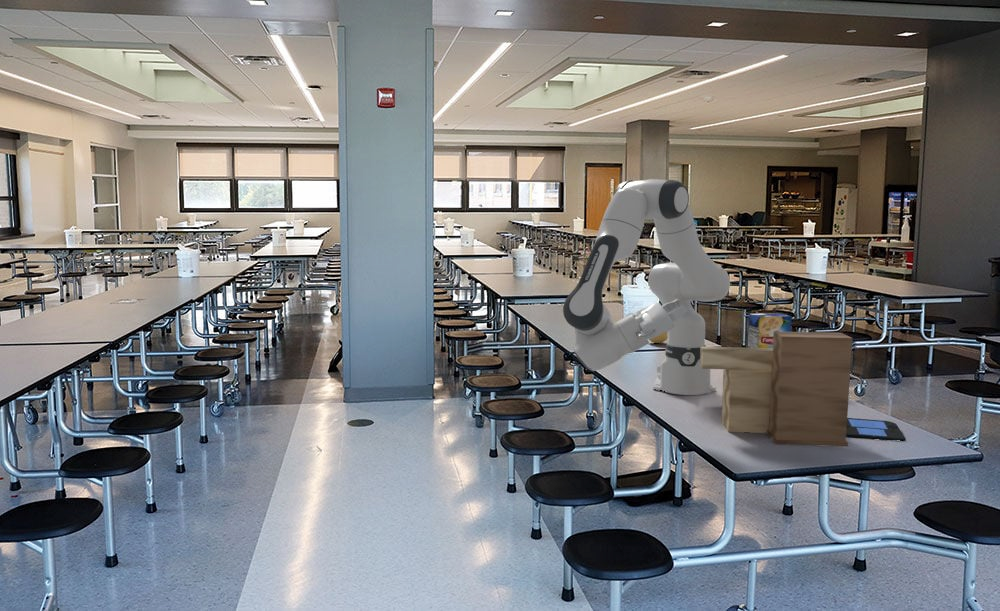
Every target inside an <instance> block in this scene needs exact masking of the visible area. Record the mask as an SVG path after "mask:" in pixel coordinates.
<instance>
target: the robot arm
mask: <svg viewBox="0 0 1000 611" xmlns="http://www.w3.org/2000/svg"><path fill="white" fill-rule="evenodd" d="M689 202H690V195H689V191H688V189H687V187H686V185H685V184H684V183H683V182H681V181H679V180H674V179H668V180H667V179H658V178H657V179H656V178H649V179H648V178H647V179H641V180H639V179H638V180H626V181H623V182H621V183H619V184H618V185H617V187H616V188H615V190H614V192H613V194H612V198H610V201H609V203H608V205H607V207H606V209H605V211H604V214H603V217H602V220H601V222H600V225H599V228H598V232H597V234H596V238H595V242H594V244H593V247H592V249H591V252H590V254H589V256H588V259H587V260H586V264H585V266H584V269H583V271H582V273H581V276H580V278H579V281H578V283H577V284H576V286H575V287H574V289H572V291H571V292H570V293H569V294H568V295H567V297H566V298H565V301H564V303H563V306H562V313H563V316H564V319H565V321H566V322H567V324H569V326H571V327H573V328H574V331H575V332H574V333H575V344H574V349H573V353H574V355H575V356H576V358H577V359H578V360H579V362H580V363H581V364H582V366H584V367H585V368H586V369H587V370H589V371H592V372H595V371H599V370H601V369H604V368H607V367H609V366H610V365H612V364H615V363H616V362H618V361H619V360H621V359H622V358H623V357H624V356H626V355H628V354H632V353H634V352H636V351H639V350H640V349H642V348H643V347H646V346H647V345H649V344H650V342H649V341H650V340H649V339H653V338H655V337H657V336H659V335H661V334H663V333H665V332H667V331H668V339H667V343H666V344H665V349H664V351H665V352H664V354H665V357H664V360H662V362H660V364H659V365H657V366H656V367H657V369H656V372H657V374H658V375H657V377H656V379H655V381H654V384H653V387H652V389H653V390H654V389H656V390H655V391H660V390H662V391H661V392H664V391H665V393H668V394H673V395H681V396H683V395H684V396H698V395H699V396H700V395H704V394H708V393H711V392H712V393H713V392H716V389H717V388H716V387H715V386H714V385H712V384H711V369H702V368H701V367H700V349H701V347H707V346H706V345H705V342H706V320H705V319H704V317H703V316H702V315H701V314H700V313H699V312H697V311H696V310H695V309H694V307H693V306H692V303H691V301H696V302H706V303H708V302H715V301H716V302H717V301H722V300H723V299H724V298H725V297H726V296H727V295H728V293H729V290H730V287H731V280H730V279H731V278H730V276H729V274H728V272H727V270H726V269H724V268H723V267H721V266H720V265H718V264H717V263H716V262H715V261H714V260H712V259H711V258H710V257H709V255H708V253H707V252H706V251H705V250H704V248H703V246H702V245H701V242H700V239H699V236H698V232H697V228H696V224H695V220H694V216H693V213H692V209H691V206H690V204H689ZM646 220H653V222H654V227H655V230H656V231H655V232H656V236H657V239H658V243H659V248H660V252H661V253H662V254H663V256H664V257H666V258H667V259H668V260H670V261H671V262H665V263H658V264H655V265H654V266H653V267H652V269H651V270H650V272H649V274H648V279H647V280H648V286H649V288H650V290H651V292H652V293H653V294H654V295H655V296H656V297H657V299H659V302H656V303H653V304H651V305H647V306H645V307H643V308H642V309H640V310H637V311H636V312H635V313H633V312H629V313H628V314H626V315H625V316H624V317H623V318H622V319H619V320H617V321H616V322H614V323H613V321H612V317H611V316H612V315H611V313H610V311H609V309H608V308H607V307H606V305H605V304H604V301H603V290H604V288H605V285H606V283H607V280H608V278H609V275H610V273H611V271H612V267H613V266H614V264H615V263H616V262H617V261H623V260H626V259H628V258H630V257H631V256H632V255H633V253H634V252H635V250H636V248H637V246H638V244H639V241H640V237H641V236H642V232H643V229H644V224H645V221H646Z"/></svg>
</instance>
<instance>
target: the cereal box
mask: <svg viewBox="0 0 1000 611" xmlns="http://www.w3.org/2000/svg"><path fill="white" fill-rule="evenodd" d="M792 317H793V316H792V315H788V314H785V313H782V312H776V313H775V312H773V313H772V312H771V313H770V312H769V313H766V312H765V313H764V312H763V313H748V328H747V329H748V330H747V332H748V333H747V334H748V335H747V348H773V335H774V332H792Z"/></svg>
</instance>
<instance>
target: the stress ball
mask: <svg viewBox="0 0 1000 611" xmlns="http://www.w3.org/2000/svg"><path fill="white" fill-rule="evenodd" d="M648 341H650V343H653V342H654V343H661V344H662V343H664V342H665V341H668V331H667V332H665V333H663V334H661V335H659V336H657V337H655V338H653V339H648ZM654 343H653V344H654Z"/></svg>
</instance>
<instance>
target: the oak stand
mask: <svg viewBox="0 0 1000 611" xmlns="http://www.w3.org/2000/svg"><path fill="white" fill-rule="evenodd" d="M722 373H723V375H722V376H723V377H722V397H721V424H722V423H723V424H722V425H723V427H724V426H725V427H724V428H725V429H726V431H727V430H728V431H727V432H728V433H744V432H750V434H751V433H753V434H766V430H769V413H770V393H771V374H772V370H735V369H723V372H722Z"/></svg>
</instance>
